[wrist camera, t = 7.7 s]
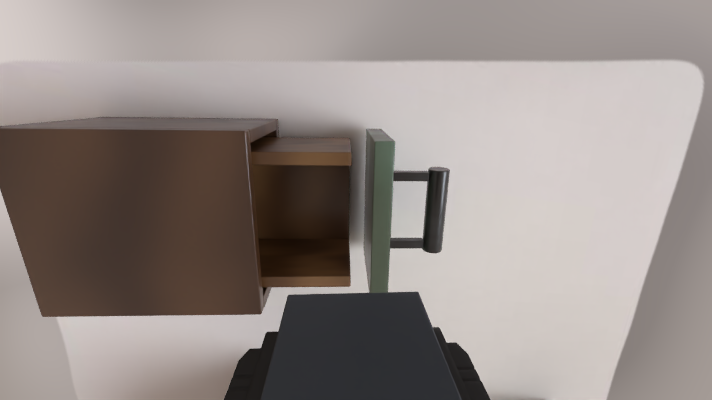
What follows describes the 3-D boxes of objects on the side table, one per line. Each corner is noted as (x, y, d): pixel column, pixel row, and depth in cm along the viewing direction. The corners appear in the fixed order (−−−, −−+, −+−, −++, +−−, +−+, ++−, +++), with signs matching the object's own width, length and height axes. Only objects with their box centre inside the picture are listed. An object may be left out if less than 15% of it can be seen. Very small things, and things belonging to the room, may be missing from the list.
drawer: (434, 129, 26) (467, 141, 19) (424, 248, 29) (449, 296, 22) (220, 127, 25) (173, 139, 18) (233, 249, 28) (197, 299, 22)
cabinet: (277, 119, 26) (245, 130, 17) (285, 250, 30) (261, 314, 21) (102, 116, 26) (-22, 127, 17) (131, 251, 29) (41, 317, 20)
